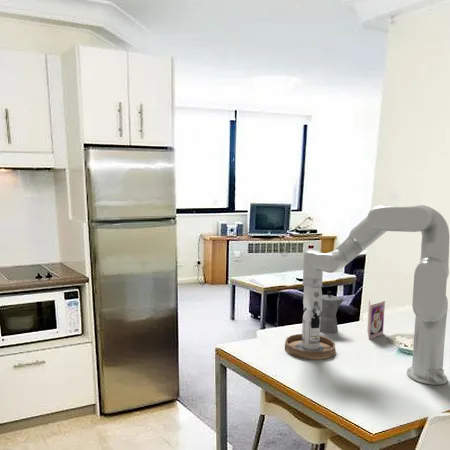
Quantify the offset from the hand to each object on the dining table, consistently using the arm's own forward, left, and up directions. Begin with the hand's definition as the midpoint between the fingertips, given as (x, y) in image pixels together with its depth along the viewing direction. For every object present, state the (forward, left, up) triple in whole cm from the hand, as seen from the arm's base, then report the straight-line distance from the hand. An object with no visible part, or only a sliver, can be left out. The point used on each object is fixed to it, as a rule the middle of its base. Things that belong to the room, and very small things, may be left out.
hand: (311, 323), depth 168 cm
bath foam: (0, 0, -10) cm, 10 cm away
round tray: (0, 0, -11) cm, 11 cm away
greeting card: (+15, -33, -11) cm, 38 cm away
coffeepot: (+23, -15, -11) cm, 30 cm away
